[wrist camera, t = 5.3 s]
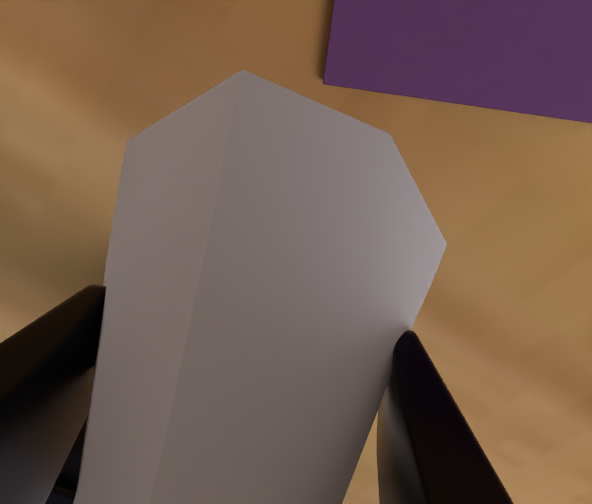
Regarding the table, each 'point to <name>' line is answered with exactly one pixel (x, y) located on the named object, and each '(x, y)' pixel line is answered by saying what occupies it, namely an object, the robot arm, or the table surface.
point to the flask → (251, 301)
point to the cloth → (468, 52)
